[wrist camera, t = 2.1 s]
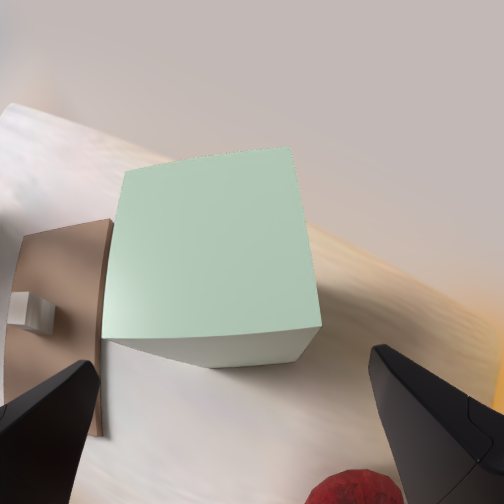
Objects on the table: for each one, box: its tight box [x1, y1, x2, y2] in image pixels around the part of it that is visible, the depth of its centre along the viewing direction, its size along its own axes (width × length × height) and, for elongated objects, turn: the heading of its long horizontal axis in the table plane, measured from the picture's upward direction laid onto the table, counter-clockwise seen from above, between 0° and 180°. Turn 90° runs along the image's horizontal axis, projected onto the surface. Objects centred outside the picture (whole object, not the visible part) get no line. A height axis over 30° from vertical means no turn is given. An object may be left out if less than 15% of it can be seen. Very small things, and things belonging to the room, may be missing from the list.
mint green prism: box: [102, 147, 322, 368], centre depth 14 cm, size 6×6×12 cm
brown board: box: [4, 218, 114, 436], centre depth 19 cm, size 18×12×4 cm, turn 4°
